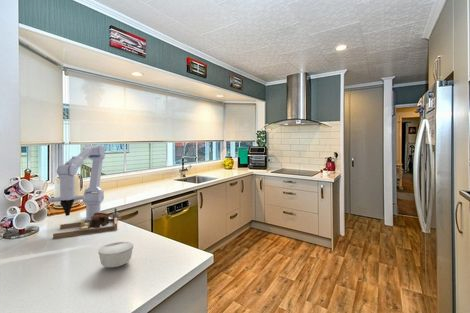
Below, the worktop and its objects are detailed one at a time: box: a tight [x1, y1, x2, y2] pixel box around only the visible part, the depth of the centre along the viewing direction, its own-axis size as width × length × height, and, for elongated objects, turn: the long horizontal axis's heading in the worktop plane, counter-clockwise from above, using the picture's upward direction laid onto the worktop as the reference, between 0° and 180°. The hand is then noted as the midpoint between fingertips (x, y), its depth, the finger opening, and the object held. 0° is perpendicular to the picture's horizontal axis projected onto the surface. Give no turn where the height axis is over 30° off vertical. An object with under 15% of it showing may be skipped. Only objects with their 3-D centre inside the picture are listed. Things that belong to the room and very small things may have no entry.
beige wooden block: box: [79, 219, 90, 230], centre depth 117 cm, size 11×3×4 cm, turn 28°
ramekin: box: [97, 241, 134, 268], centre depth 81 cm, size 11×11×5 cm
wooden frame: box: [52, 207, 119, 239], centre depth 118 cm, size 18×27×8 cm, turn 118°
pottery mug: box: [89, 212, 110, 229], centre depth 122 cm, size 12×9×8 cm
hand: (67, 215), depth 113 cm, fingers closed
